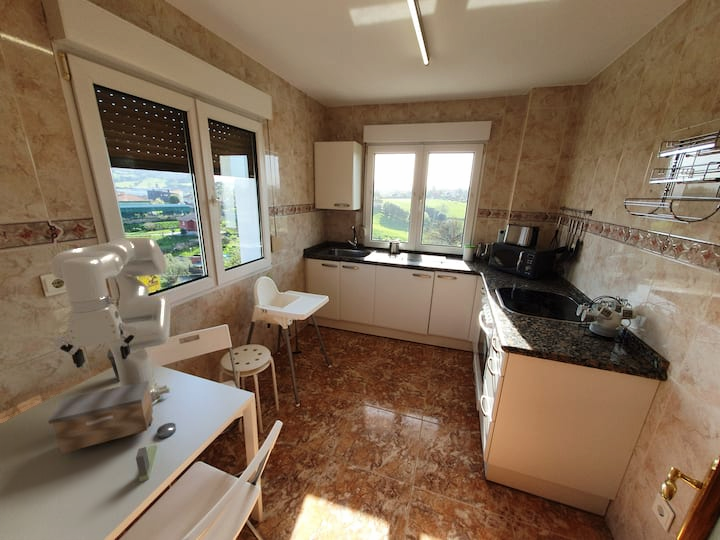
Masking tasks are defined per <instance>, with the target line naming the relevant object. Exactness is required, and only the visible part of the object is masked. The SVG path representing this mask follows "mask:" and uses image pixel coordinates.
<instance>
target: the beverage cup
mask: <svg viewBox="0 0 720 540" xmlns="http://www.w3.org/2000/svg"><path fill="white" fill-rule="evenodd" d="M107 358H108V360H109V362H110V365H111V367H112V369H113V372H114V375H115V377H116V380H117V381H119V382H120V380H119V375H118V371H117V366H116V362H115V359H114V356H113V353H112V351H111V349H110V348H108V350H107Z"/></svg>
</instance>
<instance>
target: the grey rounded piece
mask: <svg viewBox="0 0 720 540" xmlns="http://www.w3.org/2000/svg"><path fill="white" fill-rule="evenodd" d="M176 430H177V426H176V423H174V422H168V423H164V424H162V425H160V426H159V427H158V428H157V430H156V433H157V438H160V439H165V438H169V437H171V436H172V435H174V434H175V433H176Z"/></svg>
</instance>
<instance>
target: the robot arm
mask: <svg viewBox="0 0 720 540" xmlns="http://www.w3.org/2000/svg"><path fill="white" fill-rule="evenodd" d="M49 265H50V266H49V267H50V271H51V273H52V275H53V276H54V277H55V278H57V279H58V280H61V281H63V282H64V285H65V290H66V294H67V298H68V302H69V306H70V311H68V321H67V322H68V332H67V333H65V334H63V335H60V336H59V337H57V338H56V339H54V340H53V343H54V345H56V347H58V348H60V350H61V351H64V352H66V353H68V355H69V356H71V358H72V362H73V364H74V365H76V368H77V369H79V368H81V367H82V366H83V365H84V364H85V363H86V358H85V356H84V352H83V349H82V348H83V347H91V346H97V345H103V344H104V345H105V344H107V345H108V349H111V351H112V353H113V356H114V359H115V362H116V366H117V371H118V375H119V380H120V381H119V383H120V387H121V386H126V385H131V384H136V383H140V382H145V381H149V385H148V387H149V393H150V398H151V403H152V407H153V406H155V404H158V402H159V401H160V399H162V395H165V394H169V393H170V391H171V389H170V387H168V385H162V386H159V384H158V382H156V383H155V377H154V372H153V371H154V370H153V365H152V362H151V361H152V360H151V355H150V354H149V352H148V351H147V350H146V349H147V348H151V347H152V348H153V347H158V346H162V345H164V344H166V343H167V342H168V341H169V339H170V333H171V331H170V330H171V329H170V328H171V303H170V300H169V298H168V297H166V296H165V295H159V294H158V295H149V288H148V287H149V286H147V285H146V284H145V283H144V282H142V281H141V280H140V279H137V278H136V277H143V276H144V277H145V276H158V275H163V274H164V273H165V272H166V271H167V261H166V259H165V255H164V253H163V251H162V250H161V248H160V246H159V244H158V243H157V242H156V240H155V239H153V238H151V237H121V238H116V239H113V240H111V241H109V242H106V243H101V244H94V245H90V246H82V247H77V248H71V249H68V250H64V251H61V252H58V253H57V254H55V256H53V257H52V259H51V261H50V264H49ZM110 278H111V279H112V278H114V279H115V281H116V282H117V286H118V287H119V290H120V294H119V299H118V306H116V305H115V304H114V303H116V302H117V297H113V296H110V294H109V290H108V286H107V282H106V281H107V279H110ZM68 339H70V343H71V344H70V343H68V342H67V341H66V340H68ZM81 347H82V348H81Z"/></svg>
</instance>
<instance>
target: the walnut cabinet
mask: <svg viewBox="0 0 720 540" xmlns="http://www.w3.org/2000/svg"><path fill="white" fill-rule="evenodd" d="M148 385H149V381H145V382H140V383H136V384H131V385H126V386H121V385H120V386H118V387H116V386H115V387H112V388H107V389H103V390H102V389H101V390H99V391H92V392H89V393H84V394H83V393H82V394H78V395H74V396H70V397H69V396H68V397H65V398H64V399H63V401H62V402H61V403H60V405H59V406H58V407H57V408H56V410H54V412H53V413H52V415H51V416H50V418H49V419H48V420H47V421H48V424H49V425H52V427H53V430H54V434H55V436H56V440H57V443H58V446H59V449H60V450H59V451H60V454H65V453H68V452H71V451H76V450H80V449H84V448H87V447H91V446H94V445H97V444H102V443H106V442H109V441H112V440H116V439H120V438H124V437H129V436H130V435H134V434H138V433H142V432H146V431H148V428H149V427H150V426H152V422H153V419H154V417H153V413H154V409H153V406H152V403H151V398H150V393H149V387H148Z"/></svg>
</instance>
